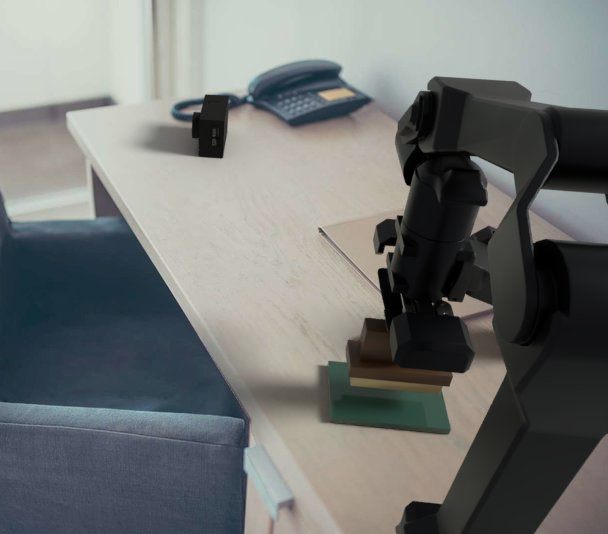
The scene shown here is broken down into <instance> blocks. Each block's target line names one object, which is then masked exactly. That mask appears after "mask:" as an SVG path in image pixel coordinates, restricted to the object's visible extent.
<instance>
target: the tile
mask: <svg viewBox="0 0 608 534" xmlns="http://www.w3.org/2000/svg"><path fill="white" fill-rule="evenodd" d="M326 365H327V384H328V385H327V386H328V387H327V388H328V406H329V423H336V424H346V425H356V426H365V427H373V428H374V427H375V428H385V429H392V430H393V429H395V430H404V431H413V432H414V431H415V432H422V433H423V432H424V433H434V434H442V435H443V434H444V435H450V433H451V430H452V427H451V422H450V419H449V415H448V411H447V406H446V402H445V398H444V397H445V396H444V394H443V389H442V390H441V393H440V394H431V393H421V392H410V391H400V390H389V389H379V388H369V387H358V386H351V385H350V377H348V371H347V361H338V360H327V364H326Z"/></svg>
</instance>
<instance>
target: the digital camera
mask: <svg viewBox="0 0 608 534" xmlns="http://www.w3.org/2000/svg"><path fill="white" fill-rule="evenodd" d="M202 101H203V102H202V105H201V108H200V112H199V111H193V113H192V120H191V138H192V139H195V140H196V139H197V140H198V147H197V148H198V149H197V151H198V153H197V154H198V155H197V156H198V157H200V158H201V157H204V158H217V159H223V158H224V154H225V148H226V142H227V135H228V127H229V126H228V125H229V105H230V96H229V95H226V94H225V95H223V94H207V93H206V94H204V97H203V100H202Z"/></svg>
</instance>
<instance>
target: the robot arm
mask: <svg viewBox="0 0 608 534" xmlns="http://www.w3.org/2000/svg"><path fill="white" fill-rule="evenodd" d="M532 95H533V93H532V92H531V91H530V89H528V88H527V87H526V86H524V85H522V84H521V83H519V82H518V81H515V80H502V79H500V80H499V79H485V78H472V77H471V78H469V77H455V76H454V77H453V76H440V75H439V76H438V75H435V76H433V77H432V78H430V79H429V81H428V82H427V84H426V90H419V91H418V93H417V95H416V97H415V99H414V100H413V102H412V104H411V105H409V107H408V108H407V109H406V111H405V112H404V113H403V114H402V116H401V117H400V118H399V119H398V121H397V131H396V133H395V137H394V146H395V150H396V151H395V152H396V154H397V158H398V161H399V165H400V169H401V173H402V176H403V180H404V182H405V185H406V186H408V187H409V191H408V195H407V199H406V202H405V206H404V211H403V215H400V214H399V215H398V214H397V215H396V218H395V219H394V218H386V219H384V220H383V221H381V222H379V223H378V224H376V225H375V229H374V234H373V237H372V242H373V248H374V254H375V255H379V256H381V255H384V253H385V249H386V247H394V250H393V251H387V253H386V256H385V262H386V267H380V268H378V269H377V279H378V285H379V290H380V296H381V299H382V303H383V306H384V309H383V316H384V319H385V322H386V328H387V332H388V335H389V339H390V346H391V352H392V358H393V362H394V363H395V364H396V365H398V366H399V367H401V368H410V369H421V370H431V371H442V372H452V374H453V373H455V374H465V373H466V372H468V371H469V370H470V368H471V365H472V363H473V362H474V358H475V355H476V350H475V348H474V344H473V341H472V338H471V334H470V331H469V327H468V326H467V324H466V323H465V322H464V320H463V319H462V318H461V317H460V316H458V315H455V314H454V311H453V307H452V305H451V302H453V303H463V302H464V300H465V296H466V295H467V296H468V297H470V298H472V299H475V300H477V301H480V302H483V303H485V304H488V305H490V306H492V312H493V316H492V320H491V325H492V330H493V333H494V335H495V339H496V341H497V342H496V343H497V345H498V349H499V351H500V354H501V357H502V360H503V363H504V366H505V371H506V372H505V375H504V378H503V379H502V382H501V384H500V386H499V388H498V390H497V391H496V394H495V396H494V397H493V400H492V401H491V404H490V406H489V408H488V409H487V412H486V414H485V416H484V418H483V419H482V422H481V424H480V427H479V428H478V430H477V432H476V434H475V437H474V438H473V440H472V442H471V445H470V446H469V449H468V451H467V453H466V454H465V457H464V459H463V460H462V462H461V465H460V467H459V468H458V470H457V473H456V475H455V477H454V479H453V481H452V483H451V485H450V486H449V489H448V491H447V493H446V495H445V497H444V499H443V501H442V503H436V502H429V501H428V502H427V501H420V500H419V501H418V500H412V501H410V502H409V503H408V504H407V505H405V507H404V509H403V512H402V516H401V519H400V521H399V523H398V524H397V525H395V534H536V532H537V531H538V529H539V528H540V527H541V525H542V524H543V523H544V521H545V520H546V519H547V517H548V516H549V514H550V513H551V512H552V510H553V508H554V507H555V506H556V504H557V503H558V501H559V500H560V498H561V497H563V495H564V493H565V491H566V490H567V489H568V488H569V486H570V485H571V483H572V482H573V481H574V479H575V478H576V477H577V475H578V474H579V472H580V471H581V469H582V468H583V466H584V465H585V464H586V462H587V461H588V459H589V458H590V457H591V455H592V453H593V452H595V449H596V448H597V447H598V445H599V444H600V443H601V441H602V440H603V438H604V437H605V436H606V435H608V243H605V242H604V243H603V242H589V241H579V240H567V239H554V238H553V239H552V238H544V239H543V238H542V239H540V240H536V241H533V235H532V234H533V232H532V226H531V219H530V208H531V206H532V204H533V202H534V201H535V199H536V197H538V194H539V193H540V191H541V190H546V191H557V192H559V191H560V192H571V193H572V192H573V193H583V194H584V193H586V194H598V195H600V194H601V195H604V197H605V202H606V204H607V205H608V109H600V108H599V109H597V108H583V107H569V106H562V105H557V104H551V103H550V104H549V103H544V102H538V101H532ZM471 157H477V158H479V159H481V160H484V161H485V162H488V163H490V164H491V165H494V166H496V167H498V168H499V169H502V170H504V171H506V172H508V173H511V174H513V181H514V188H515V198H514V200H513V201H512V203H511V205H510V206H509V208H508V210H507V211H506V213H505V215H504V216H503V218H502V219H501V221H500V223H499V224H498V225H497V228H496V227H494V226H491V225H486V226H485V227H483V228H481V229H479V230H478V231H476V232H474V233H472V232H473V229H474V227H475V223H476V220H477V218H478V215H479V212H480V209H481V207H482V208H484V207H486V206H488V202H489V194H488V184H489V181H488V178H487V176H486V174H485V172H484V171H483V169H482V168H481V166H480V165H479V164H478V163H477V162H475V161H474V160H472V159H471ZM443 298H444V299H447V300H444V299H443Z"/></svg>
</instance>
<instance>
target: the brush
mask: <svg viewBox="0 0 608 534" xmlns="http://www.w3.org/2000/svg"><path fill="white" fill-rule="evenodd" d="M360 333H361V334H360V337H359V340H354V339H347V340H346V346H345V359H346V361H345V362H347V371H348V377H350V385H351V386H358V387H369V388H379V389H389V390H400V391H410V392H421V393H431V394H440V393H441V390H442V391H443V388H444V387H448V388H449V387H450V386H451V384H452V381H453V378H454V374H453V372H442V371H431V370H421V369H410V368H401V367H399V366H398V365H396V364H395V363H394V362H393V358H392V352H391V346H390V339H389V335H388V332H387V328H386V322H385V318H374V317H364V319H363V324H362V329H361V332H360Z"/></svg>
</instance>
